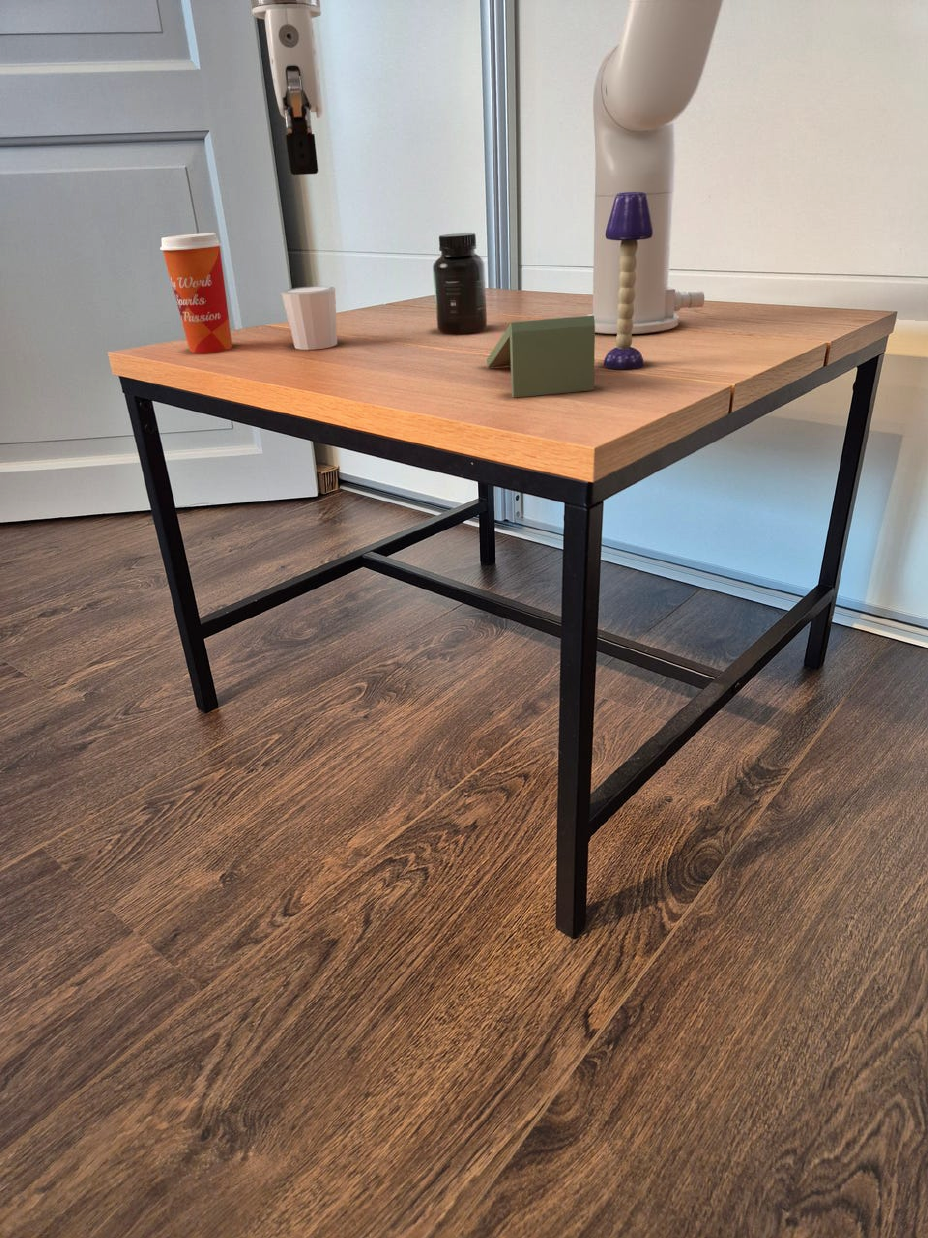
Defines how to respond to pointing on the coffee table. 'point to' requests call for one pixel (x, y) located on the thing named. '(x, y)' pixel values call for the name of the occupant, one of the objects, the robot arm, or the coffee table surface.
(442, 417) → the coffee table surface
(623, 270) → the toy lamp
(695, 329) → the coffee table surface
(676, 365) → the coffee table surface
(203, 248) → the paper cup
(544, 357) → the green tent sign
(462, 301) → the supplement bottle
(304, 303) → the white faceted cup
